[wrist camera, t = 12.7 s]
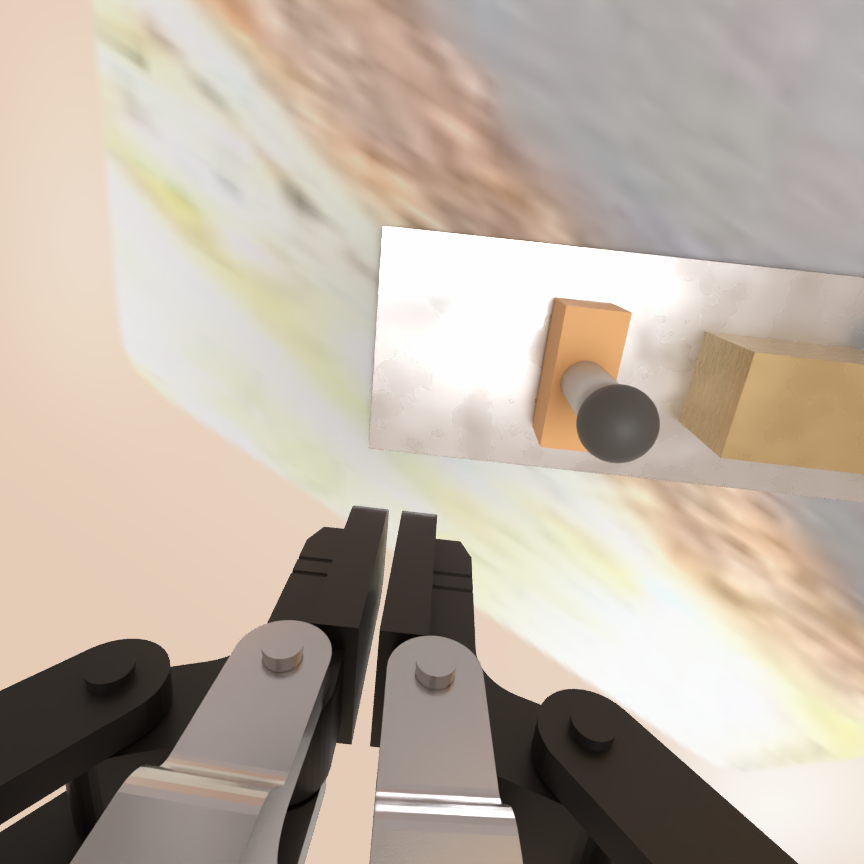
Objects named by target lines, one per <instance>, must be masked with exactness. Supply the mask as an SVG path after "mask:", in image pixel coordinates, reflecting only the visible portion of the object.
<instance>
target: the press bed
mask: <svg viewBox="0 0 864 864" xmlns="http://www.w3.org/2000/svg"><path fill="white" fill-rule="evenodd" d="M555 298H564V299H573V300H583V301H592V302H601V303H610V304H615V305H617V306H619V307H621V308H624V309H626V310H628V311H630V312H632V316H631V320H630V324H629V329H628V333H627V337H626V342H625V346H624V350H623V355H622V359H621V363H620V368H619V372H618V376H617V382H618V383H619V384H624V385H629V386H632V387H635V388H637V389H639V390H641V391H642V392H644V393H645V394H646V395H647V396H649V398H650V399H651V400H652V401H653V402H654V404H655V406H656V408H657V411H658V413H659V418H660V429H659V434H658V437H657V439H656V441H655V443H654V445H653V446H652V447H651V449H650V450H649V451H648V452H647V453H646V454H644V455H643V456H641V457H640V458H638V459H636V460H634V461H630V462H626V463H609V462H606V461H602V460H600V459H598V458H596V457H595V456H593V455H592V454H590V453H589V452H581V451H572V450H563V449H553V448H544V447H540V445H539V443H538V440H537V438H536V435H535V432H534V430H533V427H532V425H533V419H534V414H535V408H536V402H537V397H538V391H539V386H540V380H541V374H542V369H543V363H544V358H545V352H546V346H547V341H548V335H549V330H550V324H551V318H552V313H553V307H554V302H555ZM705 331H706V332H715V333H724V334H733V335H741V336H750V337H759V338H768V339H776V340H785V341H794V342H802V343H811V344H820V345H829V346H837V347H846V348H855V349H861V350H864V277H855V276H846V275H837V274H827V273H818V272H809V271H800V270H790V269H781V268H772V267H763V266H753V265H744V264H735V263H726V262H716V261H707V260H698V259H689V258H679V257H670V256H661V255H652V254H642V253H633V252H624V251H615V250H605V249H596V248H587V247H578V246H568V245H559V244H550V243H541V242H531V241H522V240H513V239H504V238H494V237H485V236H476V235H467V234H458V233H448V232H439V231H430V230H421V229H411V228H402V227H393V226H383V230H382V246H381V261H380V277H379V293H378V308H377V324H376V340H375V355H374V371H373V387H372V402H371V418H370V434H369V448H372V449H381V450H390V451H399V452H409V453H418V454H427V455H436V456H445V457H454V458H463V459H473V460H482V461H491V462H500V463H509V464H518V465H527V466H537V467H546V468H555V469H564V470H573V471H582V472H591V473H601V474H610V475H619V476H628V477H637V478H646V479H656V480H665V481H674V482H683V483H692V484H701V485H710V486H720V487H729V488H738V489H747V490H756V491H765V492H774V493H784V494H793V495H802V496H811V497H820V498H829V499H838V500H848V501H857V502H864V474H856V473H847V472H838V471H829V470H821V469H812V468H803V467H794V466H786V465H777V464H768V463H760V462H751V461H742V460H733V459H725V458H720V457H719V456H718V455H717V454H715V453H714V452H713V451H712V450H711V449H710V448H709V447H707V446H706V445H705V444H704V443H703V442H702V441H701V440H699V439H698V438H697V437H696V436H695V435H694V434H693V433H691V432H690V431H689V430H688V429H687V428H686V427H685V426H683V425H682V424H681V423H680V422H679V421H680V417H681V414H682V410H683V407H684V403H685V400H686V396H687V393H688V389H689V386H690V382H691V379H692V375H693V372H694V368H695V365H696V362H697V358H698V355H699V351H700V348H701V344H702V341H703V337H704V334H705Z"/></svg>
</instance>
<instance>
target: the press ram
mask: <svg viewBox="0 0 864 864" xmlns="http://www.w3.org/2000/svg"><path fill="white" fill-rule="evenodd" d="M631 316H632V312H630V311H628V310H626V309H624V308H621V307H619V306H617V305H615V304H610V303H601V302H592V301H583V300H573V299H564V298H555V302H554V307H553V313H552V318H551V324H550V330H549V335H548V341H547V346H546V352H545V358H544V363H543V369H542V374H541V380H540V386H539V391H538V397H537V402H536V408H535V414H534V419H533V425H532V427H533V430H534V432H535V435H536V438H537V440H538V443H539V445H540V447H544V448H553V449H563V450H572V451H581V452H589V453H590V454H592V455H593V456H595V457H596V458H598V459H600V460H602V461H606V462H609V463H626V462H630V461H634V460H636V459H638V458H640V457H641V456H643V455H644V454H646V453H647V452H648V451H649V450H650V449H651V447H652V446H653V445H654V443H655V441H656V439H657V437H658V434H659V429H660V418H659V413H658V411H657V408H656V406H655V404H654V402H653V401H652V400H651V399H650V398H649V396H647V395H646V394H645V393H644V392H642V391H641V390H639V389H637V388H635V387H632V386H629V385H624V384H619V383H618V382H617V376H618V372H619V368H620V363H621V359H622V355H623V350H624V346H625V342H626V337H627V333H628V329H629V324H630V320H631Z"/></svg>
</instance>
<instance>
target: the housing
mask: <svg viewBox="0 0 864 864" xmlns="http://www.w3.org/2000/svg"><path fill="white" fill-rule="evenodd" d="M679 422H680V423H681V424H682V425H683V426H685V427H686V428H687V429H688V430H689V431H690V432H691V433H693V434H694V435H695V436H696V437H697V438H698V439H699V440H701V441H702V442H703V443H704V444H705V445H706V446H707V447H709V448H710V449H711V450H712V451H713V452H714V453H715V454H717V455H718V456H719V457H720V458H725V459H733V460H742V461H751V462H760V463H768V464H777V465H786V466H794V467H803V468H812V469H821V470H829V471H838V472H847V473H856V474H864V350H861V349H855V348H846V347H837V346H829V345H820V344H811V343H802V342H794V341H785V340H776V339H768V338H759V337H750V336H741V335H733V334H724V333H715V332H706V331H705V334H704V337H703V341H702V344H701V348H700V351H699V355H698V358H697V362H696V365H695V368H694V372H693V375H692V379H691V382H690V386H689V389H688V393H687V396H686V400H685V403H684V407H683V410H682V414H681V417H680V421H679Z"/></svg>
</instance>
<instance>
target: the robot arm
mask: <svg viewBox="0 0 864 864" xmlns="http://www.w3.org/2000/svg"><path fill="white" fill-rule="evenodd" d="M388 514H389V511H388V509H379V508H370V507H361V506H353V507H352V509H351V512H350V515H349V517H348V520H347V523H346V526H345V528H344V529H339V528H330V527H323V528H322V529H321V530H319V531H318V532H317V533H315V534H314V535H313V536H311V537H310V538H309V539H307V541H306V543H305V545H304V547H303V549H302V551H301V553H300V556H299V559H298V560H297V562H296V564H295V566H294V568H293V572H292V573H291V574H290V577H289V579H288V581H287V583H286V585H285V587H284V589H283V591H282V593H281V596H280V598H279V600H278V602H277V604H276V606H275V608H274V610H273V612H272V614H271V617H270V619H269V621H268V623H267V624H265V625H262V626H259V627H258V628H256V629H254V630H252V631H251V632H249V633H248V634H246V635H245V636H244V637H243V638H242V639H241V640H240V642H239V643H238V644H237V645H236V647H235V649H234V650H233V652H232V653H231V655H230V656H228V657H225V658H221V659H218V660H213V661H208V662H201V663H194V664H187V665H180V666H173V667H170V660H169V657H168V654H167V653H166V651H165V650H164V649H163V648H162V647H161V646H159V645H158V644H156V643H154V642H151V641H147V640H142V639H123V640H116V641H111V642H107V643H105V644H101V645H98V646H96V647H93V648H91V649H89V650H86V651H84V652H82V653H80V654H78V655H76V656H74V657H72V658H69V659H67V660H65V661H63V662H61V663H59V664H57V665H55V666H52V667H50V668H48V669H46V670H44V671H42V672H40V673H37V674H35V675H33V676H31V677H29V678H27V679H25V680H22V681H20V682H18V683H16V684H14V685H12V686H10V687H8V688H5V689H3V690H1V691H0V825H1V824H2V823H4V822H5V821H7V820H9V819H10V818H12V817H13V816H15V815H17V814H18V813H20V812H21V811H23V810H25V809H26V808H28V807H30V806H31V805H33V804H34V803H36V802H38V801H39V800H41V799H43V798H44V797H46V796H47V795H49V794H51V793H52V792H54V791H55V790H57V789H59V788H60V787H62V786H63V785H65V784H66V789H67V791H65V792H63V793H62V794H60V795H59V796H57V797H56V798H54V799H53V800H51V801H50V802H48V803H46V804H44V805H43V806H41V807H40V808H38V809H36V810H35V811H33V812H32V813H30V814H28V815H27V816H25V817H24V818H22V819H21V820H19V821H17V822H16V823H14V824H13V825H11V826H9V827H8V828H6V829H5V830H3V831H1V832H0V864H304V863H305V860H306V856H307V853H308V849H309V846H310V842H311V839H312V836H313V832H314V829H315V825H316V821H317V818H318V815H319V811H320V808H321V805H322V801H323V798H324V794H325V789H326V778H327V776H328V773H329V770H330V767H331V763H332V758H333V754H334V750H335V746H336V743H343V744H352V739H353V733H354V729H355V723H356V719H357V714H358V709H359V704H360V699H361V694H362V689H363V684H364V679H365V674H366V669H367V665H368V659H369V654H370V650H371V645H372V640H373V635H374V630H375V625H376V620H377V615H378V610H379V605H380V599H381V592H382V585H383V576H384V565H385V553H386V541H387V529H388ZM436 523H437V515H435V514H426V513H417V512H408V511H402V515H401V520H400V526H399V531H398V536H397V542H396V547H395V552H394V558H393V563H392V568H391V573H390V579H389V584H388V590H387V595H386V600H385V605H384V611H383V616H382V621H381V626H380V635H379V646H378V659H377V671H376V682H375V694H374V706H373V719H372V732H371V742H370V746H372V747H380V750H379V761H378V772H377V782H376V793H375V804H374V816H373V828H372V840H371V851H370V863H369V864H798V863H797V862H796V861H795V860H794V859H792V858H791V857H790V856H789V855H788V854H787V853H786V852H784V851H783V850H782V849H781V848H780V847H779V846H778V845H777V844H775V843H774V842H773V841H772V840H771V839H769V837H767V836H766V835H765V834H764V833H763V832H762V831H761V830H759V829H758V828H757V827H756V826H755V825H754V824H753V823H752V822H751V821H749V820H748V819H747V818H746V817H744V815H743V814H741V813H740V812H739V811H738V810H737V809H736V808H735V807H733V806H732V805H731V804H730V803H729V802H728V801H727V800H726V799H724V798H723V797H722V796H721V795H720V794H719V793H718V792H717V791H715V790H714V789H713V788H712V787H711V786H710V785H709V784H707V783H706V782H705V781H704V780H703V779H702V778H701V777H700V776H698V775H697V774H696V773H695V772H694V771H693V770H692V769H690V768H689V767H688V766H687V765H686V764H685V763H684V762H682V761H681V760H680V759H679V758H678V757H677V756H676V755H675V754H673V753H672V752H671V751H670V750H669V749H668V748H667V747H665V746H664V745H663V744H662V743H661V742H660V741H659V740H657V738H655V737H654V736H653V735H652V734H651V733H650V732H649V731H647V730H646V729H645V728H644V727H643V726H642V725H641V724H640V723H638V722H637V721H636V720H635V719H634V718H633V717H632V716H631V715H629V714H628V713H627V712H626V711H625V710H624V709H622V708H621V707H620V706H619V705H617V704H616V703H614V702H613V701H611V700H610V699H608V698H606V697H604V696H602V695H599V694H597V693H594V692H591V691H586V690H579V689H567V690H562V691H558V692H556V693H554V694H552V695H550V696H549V697H547V698H546V699H545V701H544V702H543V703H542V705H539V704H537V703H535V702H532V701H529V700H527V699H525V698H522V697H519V696H517V695H515V694H513V693H510V692H508V691H507V690H505V689H503V688H502V687H500V686H499V685H497V684H496V683H495V682H494V681H493V680H492V679H491V678H490V677H489V676H487V674H486V673H485V672H484V670H483V669H482V667H481V665H480V662H479V660H478V659H477V656H476V649H475V627H474V605H473V593H472V592H473V584H472V562H471V556H470V555H469V554H468V552H467V551H466V549H465V548H464V546H463V545H462V543H461V542H459V541H450V540H441V539H436Z"/></svg>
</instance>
